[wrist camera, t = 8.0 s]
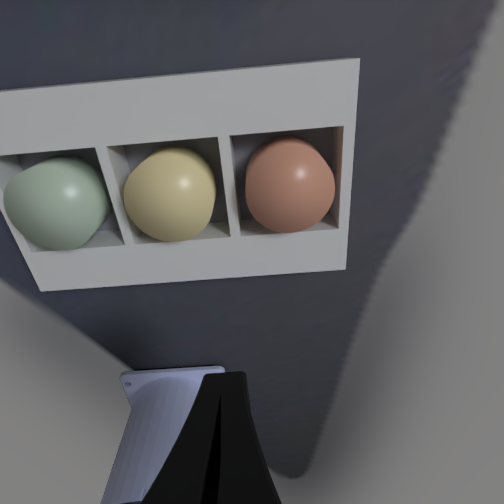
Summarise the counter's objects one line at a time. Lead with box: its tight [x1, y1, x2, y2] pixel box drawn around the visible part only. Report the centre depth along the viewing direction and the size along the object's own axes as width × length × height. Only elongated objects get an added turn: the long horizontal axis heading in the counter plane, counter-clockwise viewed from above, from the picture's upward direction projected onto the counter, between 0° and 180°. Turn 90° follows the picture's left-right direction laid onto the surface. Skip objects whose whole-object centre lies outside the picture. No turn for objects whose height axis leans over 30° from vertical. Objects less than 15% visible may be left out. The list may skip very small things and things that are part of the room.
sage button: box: [3, 155, 113, 250], centre depth 17 cm, size 4×4×2 cm
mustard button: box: [124, 146, 217, 242], centre depth 16 cm, size 4×4×2 cm
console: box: [0, 58, 360, 291], centre depth 17 cm, size 10×17×3 cm, turn 95°
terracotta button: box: [245, 136, 335, 233], centre depth 16 cm, size 4×4×2 cm
